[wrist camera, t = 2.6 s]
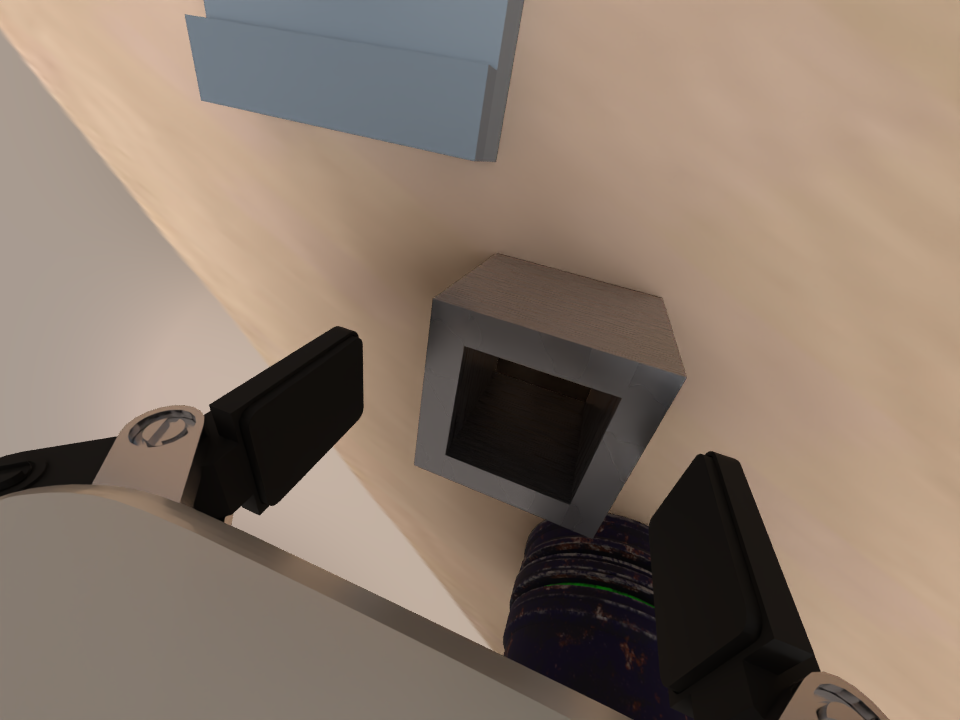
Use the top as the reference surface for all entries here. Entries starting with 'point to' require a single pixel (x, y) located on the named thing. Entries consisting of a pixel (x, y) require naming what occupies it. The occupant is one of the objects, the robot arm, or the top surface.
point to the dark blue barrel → (591, 616)
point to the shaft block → (365, 66)
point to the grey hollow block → (535, 410)
